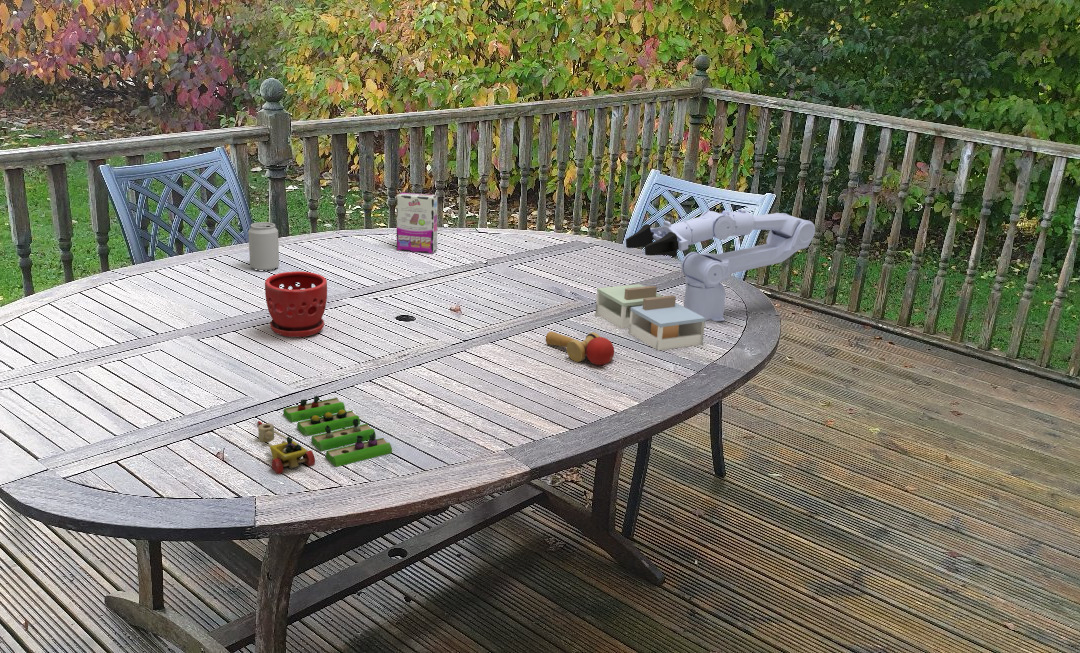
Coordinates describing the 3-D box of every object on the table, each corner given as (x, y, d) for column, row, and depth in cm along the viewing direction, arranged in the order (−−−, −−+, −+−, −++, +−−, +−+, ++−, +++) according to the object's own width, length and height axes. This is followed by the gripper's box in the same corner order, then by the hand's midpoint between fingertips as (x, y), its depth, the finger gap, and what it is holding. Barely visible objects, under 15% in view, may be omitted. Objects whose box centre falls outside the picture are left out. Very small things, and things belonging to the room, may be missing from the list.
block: (666, 336, 221) (667, 318, 219) (677, 343, 217) (679, 324, 216) (649, 338, 219) (651, 320, 217) (660, 345, 215) (662, 326, 214)
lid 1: (639, 287, 238) (640, 274, 237) (666, 301, 228) (668, 288, 227) (597, 291, 233) (598, 278, 232) (623, 306, 223) (624, 293, 222)
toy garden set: (393, 455, 162) (393, 430, 160) (282, 483, 151) (281, 456, 150) (336, 406, 179) (335, 383, 178) (233, 427, 169) (231, 403, 167)
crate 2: (671, 330, 228) (674, 305, 226) (702, 347, 218) (705, 321, 216) (628, 335, 222) (630, 310, 221) (657, 353, 213) (660, 327, 211)
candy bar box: (437, 249, 285) (438, 194, 280) (433, 254, 280) (434, 198, 275) (400, 246, 287) (401, 191, 281) (395, 250, 282) (395, 194, 276)
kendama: (535, 354, 212) (596, 368, 200) (537, 325, 212) (599, 337, 199) (560, 353, 218) (620, 366, 205) (562, 325, 217) (623, 337, 204)
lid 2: (674, 305, 226) (675, 292, 225) (705, 321, 216) (706, 307, 215) (630, 310, 220) (631, 297, 219) (660, 327, 211) (661, 313, 209)
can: (275, 272, 255) (273, 228, 251) (246, 271, 255) (244, 226, 251) (282, 265, 262) (281, 221, 258) (254, 263, 262) (252, 220, 258)
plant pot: (255, 330, 214) (252, 277, 210) (305, 317, 223) (304, 267, 219) (288, 346, 205) (287, 292, 201) (340, 332, 215) (339, 280, 211)
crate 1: (637, 310, 240) (639, 287, 238) (664, 326, 230) (666, 301, 228) (595, 315, 235) (597, 292, 233) (621, 331, 225) (623, 307, 223)
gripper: (665, 211, 231) (617, 223, 226) (703, 223, 219) (653, 236, 214) (666, 239, 234) (619, 252, 228) (704, 252, 222) (655, 267, 216)
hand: (636, 247), depth 221 cm, fingers open, 7 cm apart
